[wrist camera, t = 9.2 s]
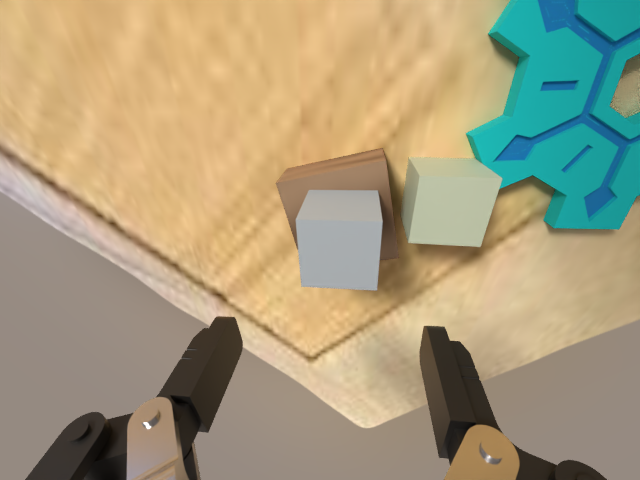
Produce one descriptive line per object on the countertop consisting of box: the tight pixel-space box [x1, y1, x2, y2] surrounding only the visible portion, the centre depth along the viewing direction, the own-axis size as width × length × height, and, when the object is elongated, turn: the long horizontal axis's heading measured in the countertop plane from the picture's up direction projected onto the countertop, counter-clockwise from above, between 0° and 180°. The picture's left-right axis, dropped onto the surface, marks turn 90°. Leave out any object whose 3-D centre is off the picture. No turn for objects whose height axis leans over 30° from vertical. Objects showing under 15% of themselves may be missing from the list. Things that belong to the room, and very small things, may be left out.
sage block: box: [400, 157, 503, 247], centre depth 21 cm, size 5×5×5 cm
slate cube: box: [296, 190, 383, 290], centre depth 20 cm, size 5×5×5 cm
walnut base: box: [276, 148, 399, 260], centre depth 24 cm, size 8×8×4 cm
